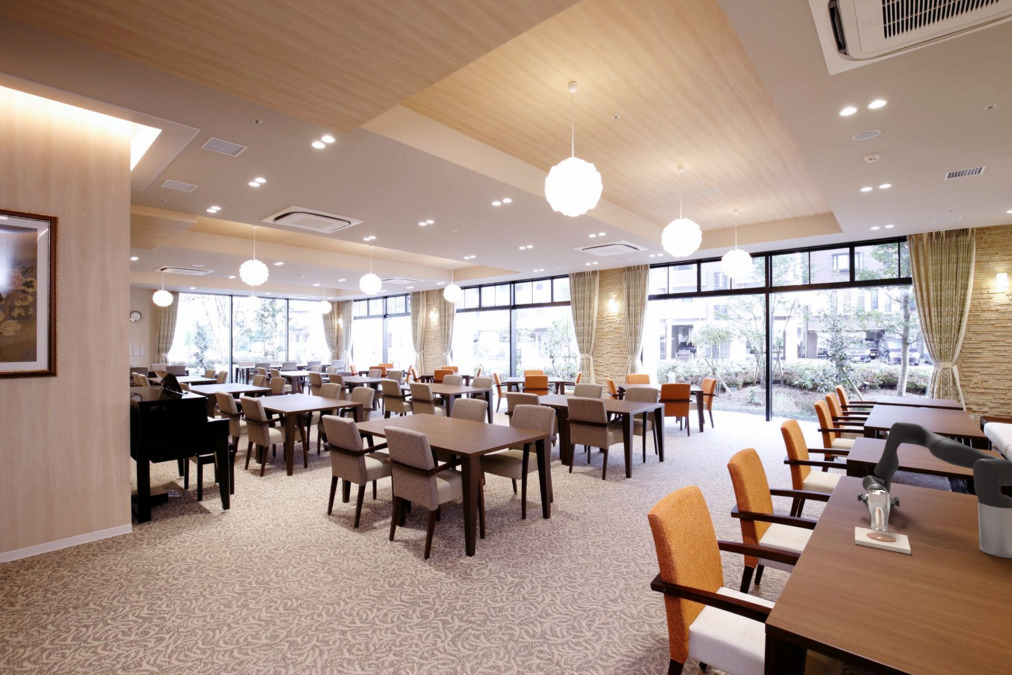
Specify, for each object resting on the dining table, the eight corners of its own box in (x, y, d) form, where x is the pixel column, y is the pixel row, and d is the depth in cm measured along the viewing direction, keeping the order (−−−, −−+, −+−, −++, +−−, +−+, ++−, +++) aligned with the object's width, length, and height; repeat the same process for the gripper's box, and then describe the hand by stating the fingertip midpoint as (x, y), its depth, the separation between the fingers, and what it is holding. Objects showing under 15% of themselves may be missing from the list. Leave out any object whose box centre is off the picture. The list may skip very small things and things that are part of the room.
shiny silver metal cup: (883, 526, 194) (881, 489, 195) (895, 532, 188) (894, 494, 188) (865, 526, 195) (863, 489, 196) (876, 532, 188) (875, 494, 189)
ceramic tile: (907, 539, 181) (906, 535, 181) (910, 554, 168) (910, 549, 168) (855, 530, 191) (855, 526, 191) (855, 543, 178) (854, 539, 178)
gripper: (857, 483, 216) (857, 491, 203) (897, 488, 208) (900, 497, 195) (857, 499, 216) (857, 509, 203) (898, 505, 208) (900, 515, 195)
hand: (878, 503), depth 199 cm, fingers open, 8 cm apart
